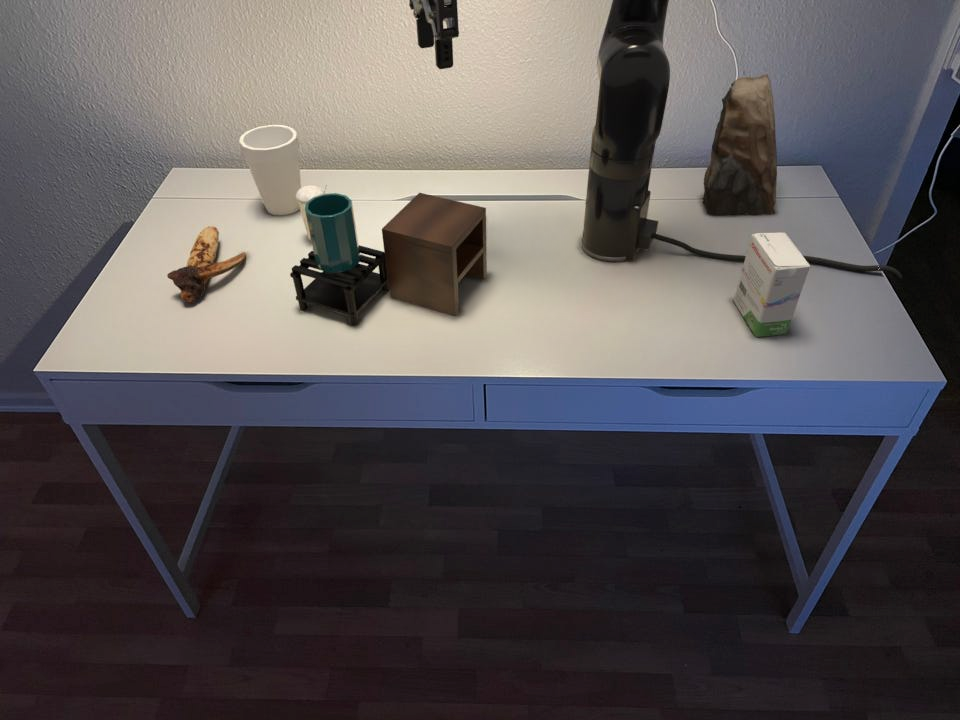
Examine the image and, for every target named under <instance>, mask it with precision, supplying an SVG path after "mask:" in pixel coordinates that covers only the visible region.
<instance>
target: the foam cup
mask: <svg viewBox="0 0 960 720" xmlns="http://www.w3.org/2000/svg"><path fill="white" fill-rule="evenodd" d="M238 143H239V146H240V151H241V154H242V156H243V158H244V159H245V162H246V164H247V167H248V168H249V171H250V174H251V176H252V179H253V182H254V183H255V186H256V188H257V191H258V193H259V196H260V198H261V201H262V203H263V205H264V207H265V210H266V211H267V212H268V213H269V214H271V215H274V216H286V215H291V214H293V213H295V212H297V211H300V208H299V205H298V202H297V199H296V193H297V192H298V190H299V189H300V188H301V187H302V180H301V179H302V178H301V166H300V164H301V163H300V141H299V136H298V132H297V131H296V130H295V129H294V128H293V127H291V126H287V125H285V124H268V125H262V126H257V127H254V128H252V129H248V130H247V131H245V132H243V134H241V135H240V137H239V141H238Z"/></svg>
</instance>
